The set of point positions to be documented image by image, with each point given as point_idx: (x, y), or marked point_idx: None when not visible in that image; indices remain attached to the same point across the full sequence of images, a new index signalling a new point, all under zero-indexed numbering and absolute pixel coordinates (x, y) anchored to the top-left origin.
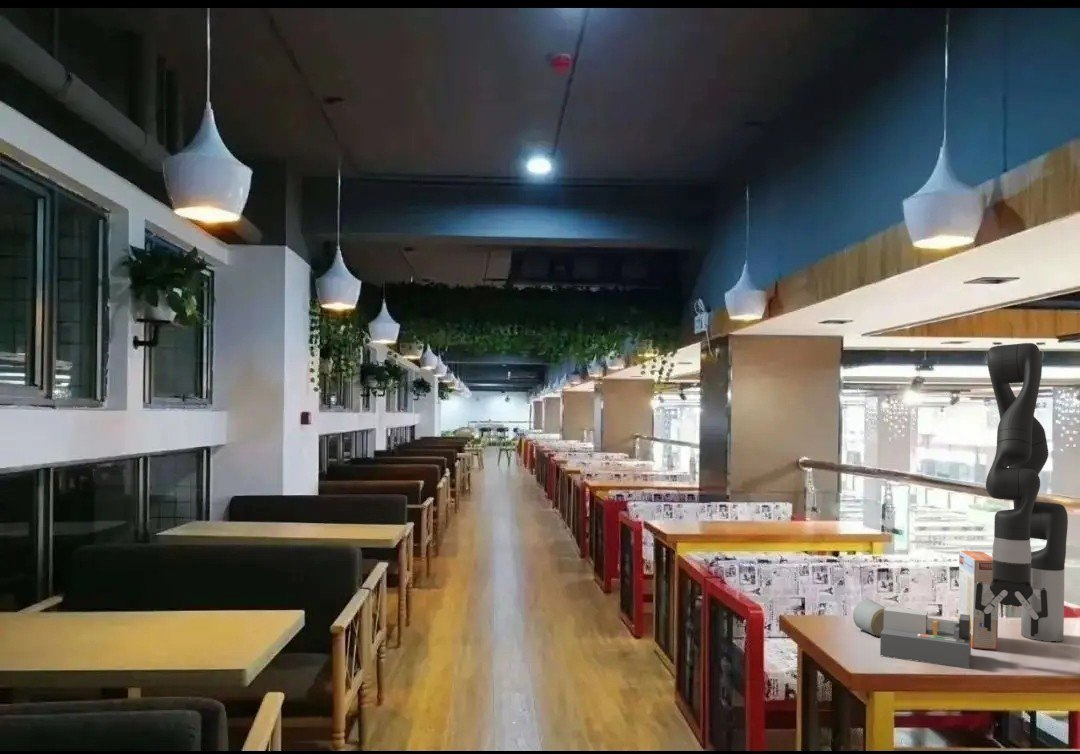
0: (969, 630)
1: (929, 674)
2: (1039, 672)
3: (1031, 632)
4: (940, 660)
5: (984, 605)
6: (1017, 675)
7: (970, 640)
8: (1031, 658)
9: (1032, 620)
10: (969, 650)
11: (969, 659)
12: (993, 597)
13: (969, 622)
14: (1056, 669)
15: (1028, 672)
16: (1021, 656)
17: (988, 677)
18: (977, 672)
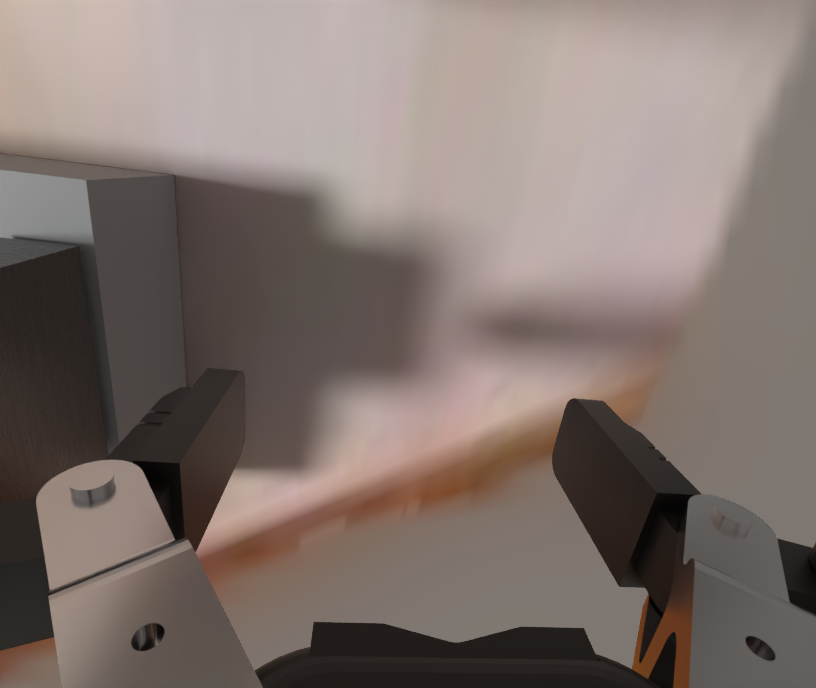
0: (66, 375)
1: None
2: (520, 386)
3: (565, 487)
4: None
5: (13, 569)
6: (407, 477)
7: (122, 267)
8: (555, 73)
9: (626, 576)
10: None
11: (178, 362)
12: (60, 674)
13: (11, 453)
14: (626, 289)
15: (466, 409)
16: (501, 42)
17: (283, 555)
18: (236, 508)
